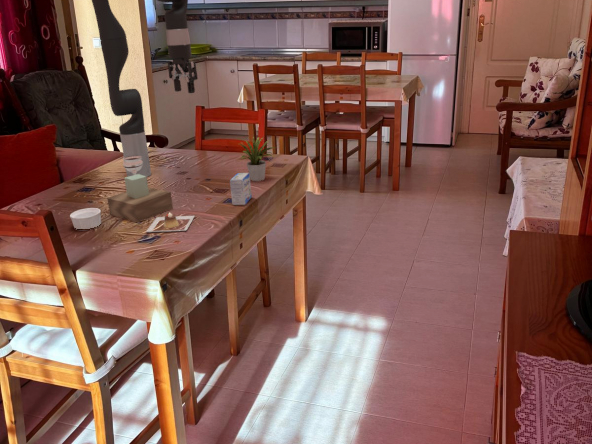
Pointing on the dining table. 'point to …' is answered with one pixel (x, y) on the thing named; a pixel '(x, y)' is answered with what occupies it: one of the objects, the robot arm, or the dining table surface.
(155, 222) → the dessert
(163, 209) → the walnut block
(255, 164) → the house plant
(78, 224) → the ramekin
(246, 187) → the medicine box
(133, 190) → the sage block
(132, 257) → the dining table surface
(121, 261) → the dining table surface
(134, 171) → the wineglass
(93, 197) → the dining table surface
